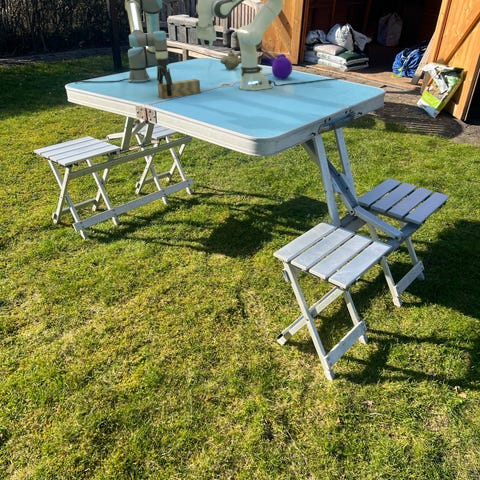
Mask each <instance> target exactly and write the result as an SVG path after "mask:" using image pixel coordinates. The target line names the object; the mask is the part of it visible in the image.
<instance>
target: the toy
mask: <svg viewBox="0 0 480 480" xmlns="http://www.w3.org/2000/svg"><path fill="white" fill-rule="evenodd" d="M260 60H261V61H262V62H264V63H266V64H268V65H270V66H271V72H272V75H273V76H274V77H275V78H276V79H279V80H285V79H287V78H289V77H290V75H291V74H292V72H293V63H292V62H291V61H290V59H289V58H287V57H286V55H285V54H284V53H280V54H278V55H277V56H276V58H268V57H266V58H265V57H263V58H262V57H261V58H260Z"/></svg>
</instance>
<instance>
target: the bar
mask: <svg viewBox="0 0 480 480" xmlns="http://www.w3.org/2000/svg"><path fill="white" fill-rule="evenodd" d="M156 85H157V94H158V98H159V99H160V98H161V99H163V100H165V99H170V98H175V97H176V98H177V97H184V96H188V95H196V94H197V95H198V94H201V81H200V79H197V78H192V79H191V78H190V79H186V80H185V79H184V80H177V81H172V85H171V92H172V96H167V86H166V85H167V83H166V82H163V83H162V84H159V83H157V84H156Z"/></svg>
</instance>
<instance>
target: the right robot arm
mask: <svg viewBox="0 0 480 480" xmlns="http://www.w3.org/2000/svg"><path fill="white" fill-rule="evenodd" d="M244 1H245V0H197V13H198V20H197V21H195V31H196V38H197V39H199V40H200V43H201V47H202V48H205V47H206V43H205V41H208V42H209V43H208V49H213V45H214V42H216V41H217V31H216V28H215V26H214V22H213V19H214V18H213V17H216V18H218V19H221V20H225V19H228V18H229V17H230V15H231V14H232V12H233V11H234V9H236V8H237V7H238V6H239V5H242V3H244ZM284 5H285V2H284V0H266V2H265V3H264V4H263V5H262V6H261V7H260V9H259V10H258V11H257V12H256V14H254V18H253V20H252V21H251V24H250V25H246V24H245V25H242V26H240V27H239V28H238V29H237V32H236V37H237V40H238V44H239V50H240V52H241V63H240V64H241V66H240V84H239V89H240V90H244V91H253V92H254V91H261V90H267V89H268V90H269V89H272V88H273V85H274V86H275V87H281V86H288V85H289V86H290V85H299V84H308V83H317V82H324V81H334V80H342V79H344V80H347V78H346V76H345V77H344V76H341V77H336V78H335V77H334V78H327V79H316V80H308V81H300V82H299V81H298V82H288V83H281V84H276V82H275V81H273V80H272V79H271V80H270V79H269V78H268V77H267V76H266V75H265V74H264V73H262V72H261V71H263V67H262V66H259V62H258V61H259V56H258V55H259V53H258V51H257V47H256V46H257V45H259V44H260V43H261V42H262V41H263V36H264V34H265V33H266V32H267V29H268V28H269V27H270V25H271V24H272V23H273V22H274V21H275V20H276V18H277V17H278V16H279V14H280V13H281V11H282V10H283V8H284ZM272 84H273V85H272Z"/></svg>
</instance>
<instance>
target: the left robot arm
mask: <svg viewBox="0 0 480 480" xmlns="http://www.w3.org/2000/svg"><path fill="white" fill-rule="evenodd" d="M124 8H125V11H126V12H127V18H128V23H129V28H130V34H129V35H128V41H129V46H130V49H128V50H127V57H128V64H129V65H128V66H129V76H128V78H127V77H126V78H123V79H119V80H103V81H102V80H101V81H99V80H95V81H93V80H76V81H75V82H74V84H77V83H93V84H94V83H99V84H100V83H118V82H119V83H120V82H124V81H127V80H128V82H129V83H133V84H141V83H148V82H150V75H149V74H148V71H147V67H149V66H150V67H151V66H156V69H157V70H156V71H157V72H156V81H157V82H158V84H162V83H164V80H165V83H167V85H166V86H167V96H172V92H171V85H172V82H173V80H172V76H171V71H170V68H169V67H168V66H169V64H170V63H169V51H168V42H167V41H168V39H167V33H166V31H165V30H160V16H159V15H160V13H161V9H163V1H162V0H124ZM140 10H142V11H143V12H144V13H145V20H146V32H147V33H144V30H143V23H142V19H141V13H140Z"/></svg>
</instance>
